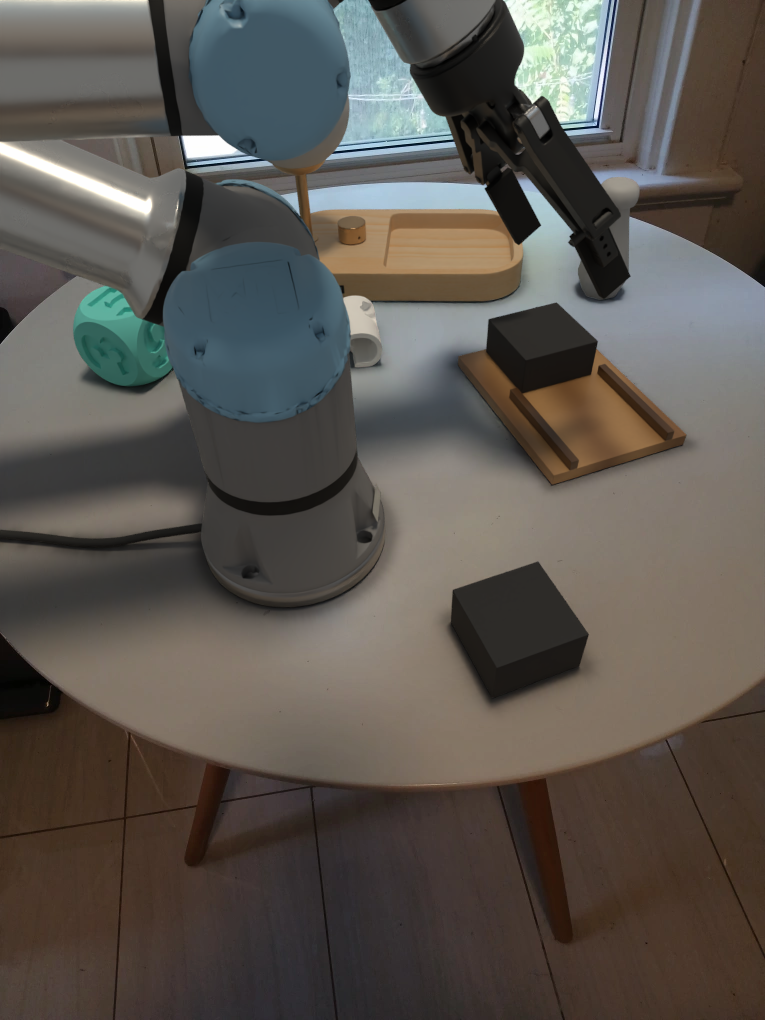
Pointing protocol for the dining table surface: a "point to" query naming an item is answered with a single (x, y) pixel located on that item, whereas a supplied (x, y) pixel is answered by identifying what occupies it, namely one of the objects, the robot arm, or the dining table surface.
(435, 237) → the lamp
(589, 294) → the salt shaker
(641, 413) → the tray
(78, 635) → the dining table surface
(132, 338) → the decorative dice
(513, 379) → the pad
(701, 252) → the dining table surface
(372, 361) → the plastic part
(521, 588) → the black rectangular block
